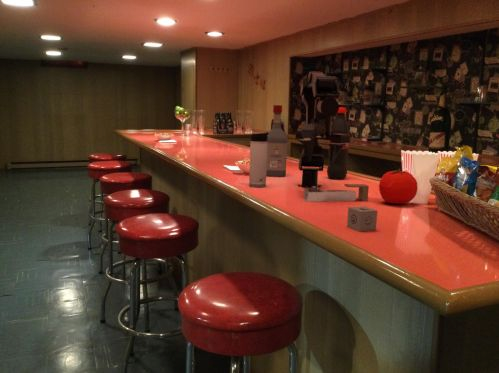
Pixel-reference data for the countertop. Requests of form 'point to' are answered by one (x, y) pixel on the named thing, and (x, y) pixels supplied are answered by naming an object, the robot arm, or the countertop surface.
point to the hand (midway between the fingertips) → (320, 162)
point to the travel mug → (258, 160)
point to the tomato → (398, 187)
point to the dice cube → (362, 218)
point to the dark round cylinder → (314, 189)
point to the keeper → (360, 191)
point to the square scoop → (329, 195)
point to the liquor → (276, 147)
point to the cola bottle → (339, 165)
